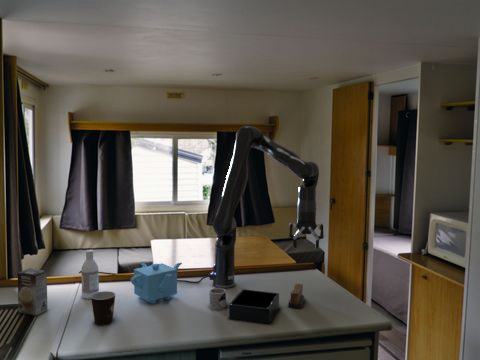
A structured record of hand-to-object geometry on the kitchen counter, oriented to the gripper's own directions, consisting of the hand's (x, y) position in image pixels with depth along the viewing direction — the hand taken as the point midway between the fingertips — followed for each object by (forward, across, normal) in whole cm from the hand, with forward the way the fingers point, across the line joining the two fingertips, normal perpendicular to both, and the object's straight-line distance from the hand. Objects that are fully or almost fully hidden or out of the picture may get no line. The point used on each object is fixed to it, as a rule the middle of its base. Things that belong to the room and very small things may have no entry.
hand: (305, 248), depth 180 cm
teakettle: (+23, +62, +4) cm, 67 cm away
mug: (+23, +35, +10) cm, 43 cm away
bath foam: (+23, +92, +7) cm, 95 cm away
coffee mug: (+23, +74, +30) cm, 83 cm away
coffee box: (+23, +106, +26) cm, 112 cm away
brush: (+23, +3, +3) cm, 23 cm away
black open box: (+23, +20, +15) cm, 34 cm away
